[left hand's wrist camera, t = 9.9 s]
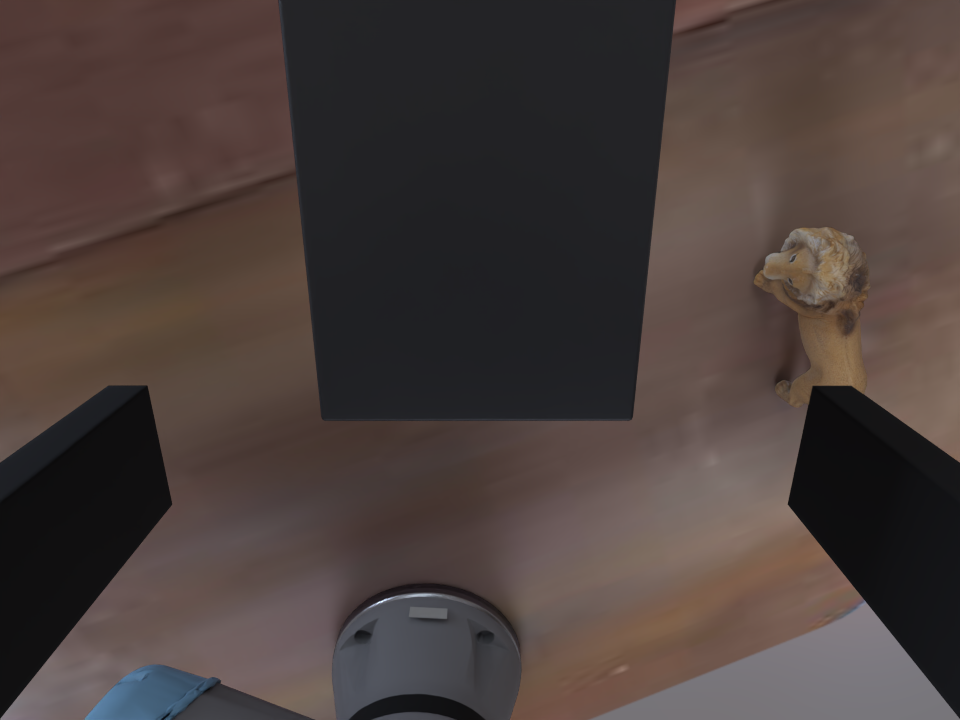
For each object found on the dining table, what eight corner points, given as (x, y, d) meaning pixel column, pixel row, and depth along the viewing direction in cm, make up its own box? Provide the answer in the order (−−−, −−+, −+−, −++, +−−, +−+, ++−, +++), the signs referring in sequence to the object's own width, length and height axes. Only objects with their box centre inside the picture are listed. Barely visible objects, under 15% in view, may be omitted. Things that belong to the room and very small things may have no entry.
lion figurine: (712, 232, 39) (777, 263, 31) (795, 192, 38) (885, 212, 30) (783, 420, 44) (855, 491, 35) (858, 388, 43) (950, 453, 34)
